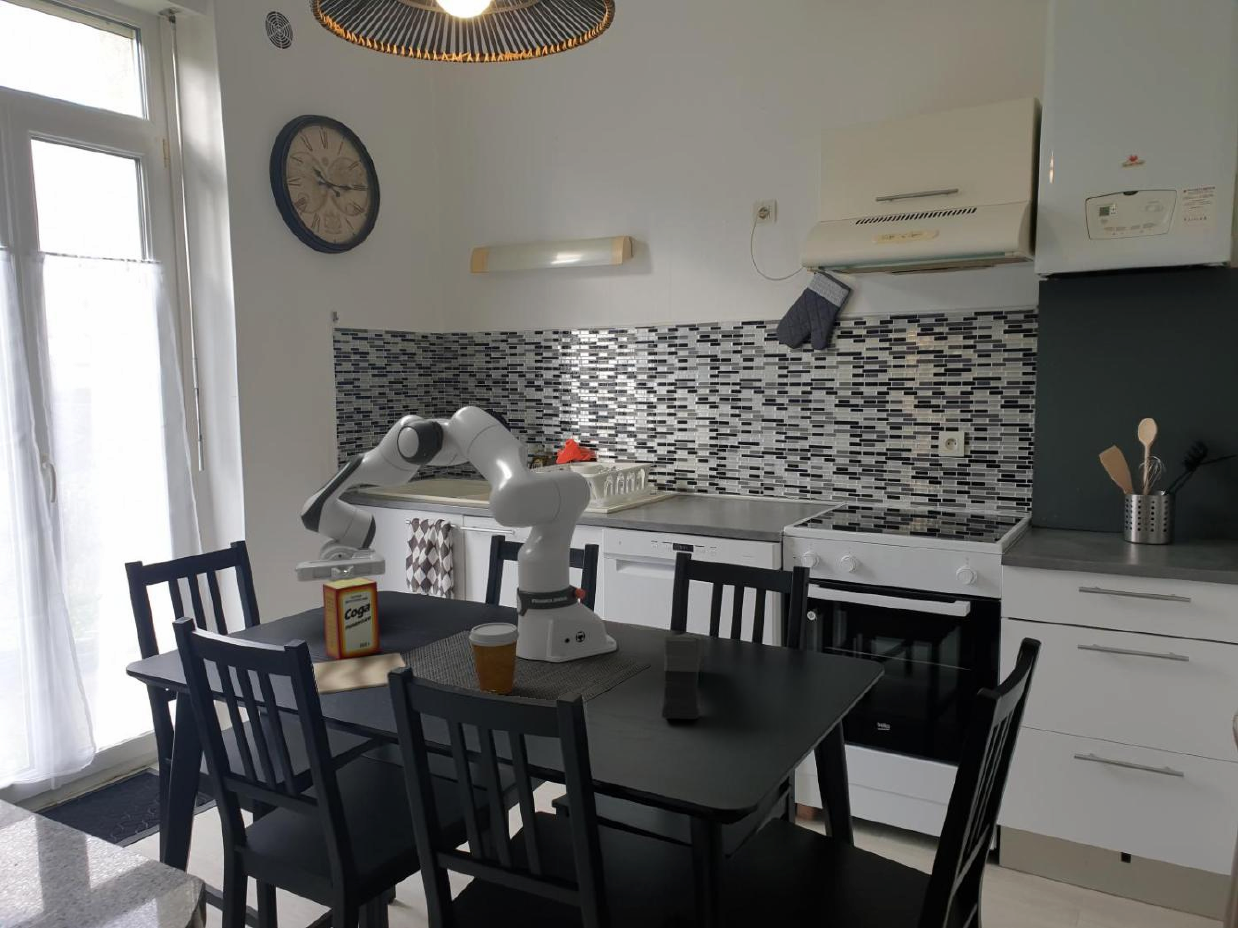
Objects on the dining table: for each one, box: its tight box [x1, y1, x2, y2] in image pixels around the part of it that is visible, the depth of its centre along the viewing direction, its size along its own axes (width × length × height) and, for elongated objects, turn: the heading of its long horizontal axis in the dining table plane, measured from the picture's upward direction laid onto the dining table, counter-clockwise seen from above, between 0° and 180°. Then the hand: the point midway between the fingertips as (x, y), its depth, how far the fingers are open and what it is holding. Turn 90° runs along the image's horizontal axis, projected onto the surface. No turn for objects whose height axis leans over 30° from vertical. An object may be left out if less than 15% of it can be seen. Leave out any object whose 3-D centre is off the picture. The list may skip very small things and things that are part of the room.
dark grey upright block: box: [661, 632, 709, 720], centre depth 172 cm, size 7×29×15 cm, turn 171°
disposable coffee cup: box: [468, 622, 519, 695], centre depth 177 cm, size 10×10×12 cm
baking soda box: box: [322, 577, 381, 661], centre depth 203 cm, size 10×6×16 cm
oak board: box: [312, 652, 407, 695], centre depth 189 cm, size 18×19×1 cm
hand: (344, 575), depth 215 cm, fingers closed
